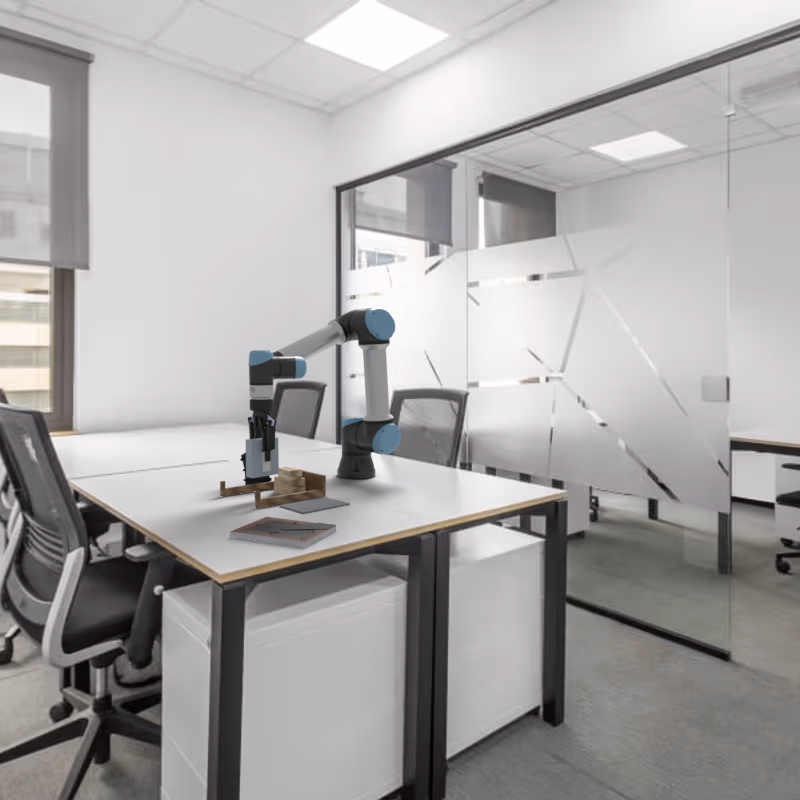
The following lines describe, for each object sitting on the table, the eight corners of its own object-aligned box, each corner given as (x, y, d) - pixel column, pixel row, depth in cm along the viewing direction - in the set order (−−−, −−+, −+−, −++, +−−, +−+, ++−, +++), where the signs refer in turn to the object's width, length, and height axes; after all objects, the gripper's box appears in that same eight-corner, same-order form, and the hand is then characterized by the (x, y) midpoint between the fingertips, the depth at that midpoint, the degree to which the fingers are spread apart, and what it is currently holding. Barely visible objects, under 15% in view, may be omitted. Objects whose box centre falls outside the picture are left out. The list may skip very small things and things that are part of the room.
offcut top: (291, 475, 212) (291, 466, 212) (302, 478, 207) (302, 469, 207) (278, 476, 209) (278, 467, 209) (289, 480, 204) (289, 471, 204)
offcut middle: (288, 483, 214) (288, 474, 214) (305, 487, 208) (305, 478, 208) (274, 485, 209) (274, 476, 209) (290, 489, 203) (290, 480, 203)
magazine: (268, 486, 212) (256, 445, 215) (247, 497, 220) (236, 457, 223) (277, 484, 215) (265, 444, 218) (256, 495, 223) (245, 456, 226)
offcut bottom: (288, 491, 214) (288, 483, 214) (305, 496, 207) (305, 487, 207) (273, 493, 210) (273, 485, 210) (290, 499, 203) (290, 489, 203)
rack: (286, 486, 221) (287, 466, 221) (325, 496, 205) (325, 475, 205) (220, 496, 203) (220, 475, 202) (257, 508, 187) (257, 485, 186)
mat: (326, 498, 203) (326, 497, 203) (349, 504, 194) (349, 503, 194) (279, 506, 190) (279, 505, 190) (303, 513, 181) (303, 512, 181)
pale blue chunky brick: (272, 472, 205) (272, 436, 204) (278, 473, 203) (278, 437, 202) (246, 476, 198) (245, 439, 197) (252, 478, 196) (251, 440, 195)
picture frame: (336, 533, 164) (266, 524, 172) (336, 524, 164) (266, 515, 172) (304, 551, 149) (229, 540, 156) (304, 540, 148) (229, 530, 156)
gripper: (237, 397, 202) (238, 468, 204) (265, 400, 190) (266, 475, 192) (257, 396, 207) (258, 465, 209) (286, 399, 196) (287, 472, 197)
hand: (262, 470), depth 200 cm, fingers closed on pale blue chunky brick, 3 cm apart
